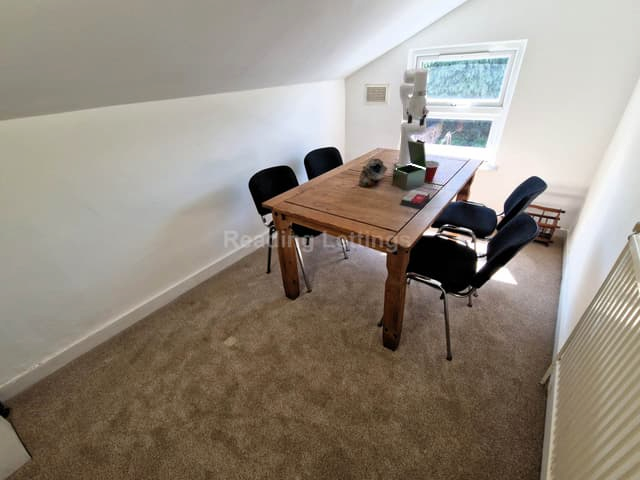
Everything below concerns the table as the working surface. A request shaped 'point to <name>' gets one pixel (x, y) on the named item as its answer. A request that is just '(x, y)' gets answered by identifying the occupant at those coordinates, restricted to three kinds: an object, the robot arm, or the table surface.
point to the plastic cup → (430, 170)
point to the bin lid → (417, 153)
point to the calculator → (415, 199)
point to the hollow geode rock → (372, 172)
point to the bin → (408, 177)
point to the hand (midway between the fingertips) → (415, 124)
